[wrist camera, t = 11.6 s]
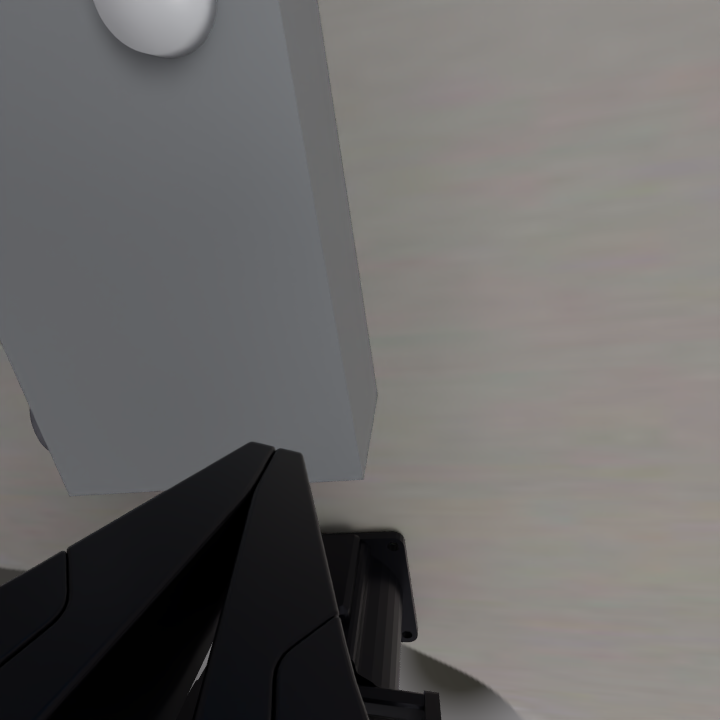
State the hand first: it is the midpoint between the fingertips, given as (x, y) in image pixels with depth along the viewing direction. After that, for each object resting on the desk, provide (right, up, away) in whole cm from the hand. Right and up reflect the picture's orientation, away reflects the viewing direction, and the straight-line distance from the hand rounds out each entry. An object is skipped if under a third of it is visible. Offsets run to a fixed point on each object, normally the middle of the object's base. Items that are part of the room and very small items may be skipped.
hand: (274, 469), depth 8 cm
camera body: (-4, +8, +10) cm, 14 cm away
